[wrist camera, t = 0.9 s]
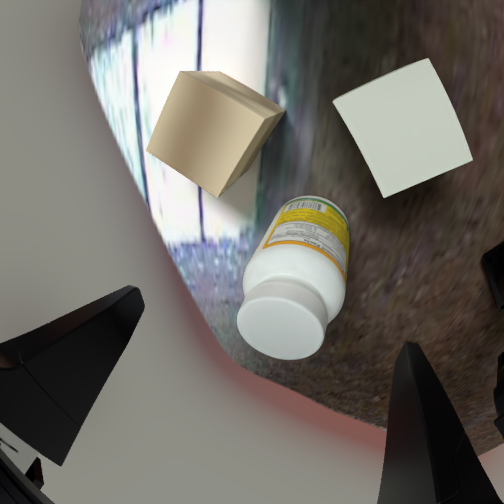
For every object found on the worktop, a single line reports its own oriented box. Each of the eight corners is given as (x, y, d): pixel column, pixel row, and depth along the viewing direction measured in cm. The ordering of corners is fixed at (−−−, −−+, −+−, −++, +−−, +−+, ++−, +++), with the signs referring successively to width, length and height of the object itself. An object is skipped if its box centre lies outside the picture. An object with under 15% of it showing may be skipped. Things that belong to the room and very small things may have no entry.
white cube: (443, 139, 14) (472, 160, 10) (375, 169, 17) (383, 198, 13) (407, 65, 12) (428, 58, 8) (336, 97, 15) (332, 101, 11)
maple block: (286, 110, 16) (264, 119, 12) (247, 170, 19) (217, 198, 15) (220, 71, 16) (180, 71, 12) (188, 133, 19) (146, 150, 15)
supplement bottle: (311, 177, 18) (276, 259, 10) (366, 234, 19) (366, 342, 11) (259, 226, 21) (201, 318, 14) (310, 274, 22) (281, 379, 14)
